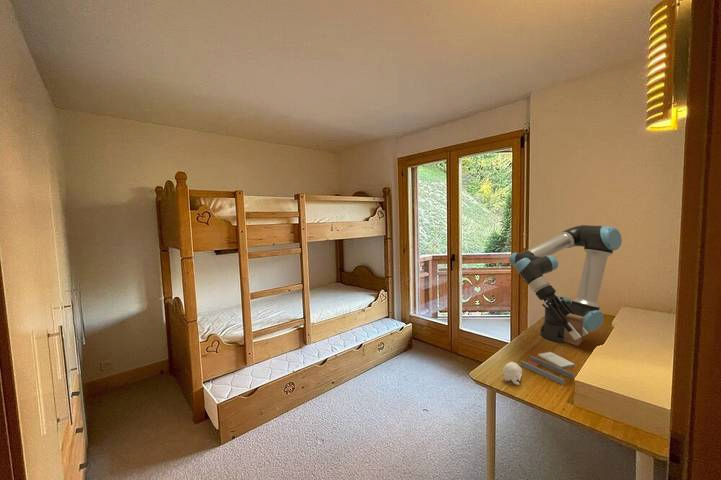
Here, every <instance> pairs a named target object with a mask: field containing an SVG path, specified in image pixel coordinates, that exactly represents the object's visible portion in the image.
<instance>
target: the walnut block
mask: <svg viewBox="0 0 721 480" xmlns="http://www.w3.org/2000/svg"><path fill="white" fill-rule="evenodd" d="M565 319H566V320H567V322H568V323H569V322H570V324H571V325H572V326H573V327H574V329H575V330H576V331H577V332H578V333H579V335H580V336H581V337H580V338H578V339H576V340H574V339H573V337H572V336H571V335H570V334H569V332H568V331H567V330H566V329H565V330H564V341H565V342H566V343H569V344H572V345H573V346H574V345H575V346H579V345H580V344H582V341H583V336H582V332H583V321H584V317H582V316H578V315H574V314H568V315H567V316H566V318H565Z"/></svg>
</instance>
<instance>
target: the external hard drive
mask: <svg viewBox="0 0 721 480" xmlns="http://www.w3.org/2000/svg"><path fill="white" fill-rule="evenodd" d="M537 356H538V357H540V359H541V358H542V360H543V359H544V361H546V362H547V363H550V364H552V365H555V366H557V367H559V368H562V369H564V370H565V369H568V368H572V367H576V364H575V363H574V362H571V361H570V360H568V359H566V358H564V357H562V356H560V355H558V354H556V353H554V352H553V351H549V352H541V353H538V355H537Z"/></svg>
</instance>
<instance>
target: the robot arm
mask: <svg viewBox="0 0 721 480" xmlns="http://www.w3.org/2000/svg"><path fill="white" fill-rule="evenodd" d="M622 239H623V238H622V235H621V233H620V231H619V229H618V228H616V227H614V226H610V225H609V226H608V225H587V224H584V225H583V224H580V225H576V226H573V227H570V228H568V229H565V230H563V231H561V232H559V233H558V234H556V236H554V237H552V238H551V239H550V238H549V239H548V240H546V241H544V242H541V243H539V244H538V245H535V246H533V247H531V248H529V249H527V250H525V251H523V252H512V253H511V254H510V256H509V259H508V261H509V264H510V265H511V266H512V267H514V268H515V270H516V271H517V273H518V275H520V277H521V278H522V279H523V280H524V282H525V283H526V284H527V285H528V286H529V288H530V289H531V290H532V291H533V292H534V293H535V295H536V297H537V298H538V299H539V300H540V301H544V303H542V304H541V306H543V307H544V321H543V324H542V325H541V328H540V330H539V335H540V336H541V337H542V338H544V339H546V340H548V341H551V342H556V343H567V342H565V341H564V330H565V329H566V330H567V331H568V332H569V334H570V335H571V336H572V337H573V339H574V340H576V339H578V338H580V337H581V336H580V335H579V333H578V332H577V331H576V330H575V329H574V327H573V326H572V325H571V324H570V322H569V323H568V322H567V320H566V319H565V318H566V316H567V315H568V314H574V315H578V316H582V317H584V321H583V332H582V337H585V336H586V335H588V334H589V332H595V331H598V329H599V328H600V327H601V325H602V324H603V322H604V313H603V312H602V311H600V308H601V305H599V304H598V299H599V296H600V290H601V287H602V283H603V278H604V274H605V269H606V267H607V266H606V265H607V261H608V257H610V256H612V255H613V253H614V251H617V250H619V249H620V247H621V246H622V241H623V240H622ZM573 247H583V251H584V252H585V253H586V255H585V259H584V262H583V268H582V273H581V276H580V281H579V286H578V290H577V294H576V297H575V298H573V299H571V298H569V297H567V296H558V295H556V292H557V290H556V289H555V288H554V287H553V286H552V285H551V284H550V282H549V281H548V280H547V278H546V277H545V276H544V275H545V274H548V273H551V272H553V271H555V270H557V269H558V267H559V261H558V259H557V258H556V257H555V256H553V255H555V254H556V253H558V252H560V251H562V250H564V249H571V248H573Z"/></svg>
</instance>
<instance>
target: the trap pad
mask: <svg viewBox="0 0 721 480" xmlns="http://www.w3.org/2000/svg"><path fill="white" fill-rule="evenodd" d="M526 362H527V363H529V364H531V365H533V366H536V367H539V366H540V365H539V364H537V363H535V362H533V361H530V360H528V361H526Z"/></svg>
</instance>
